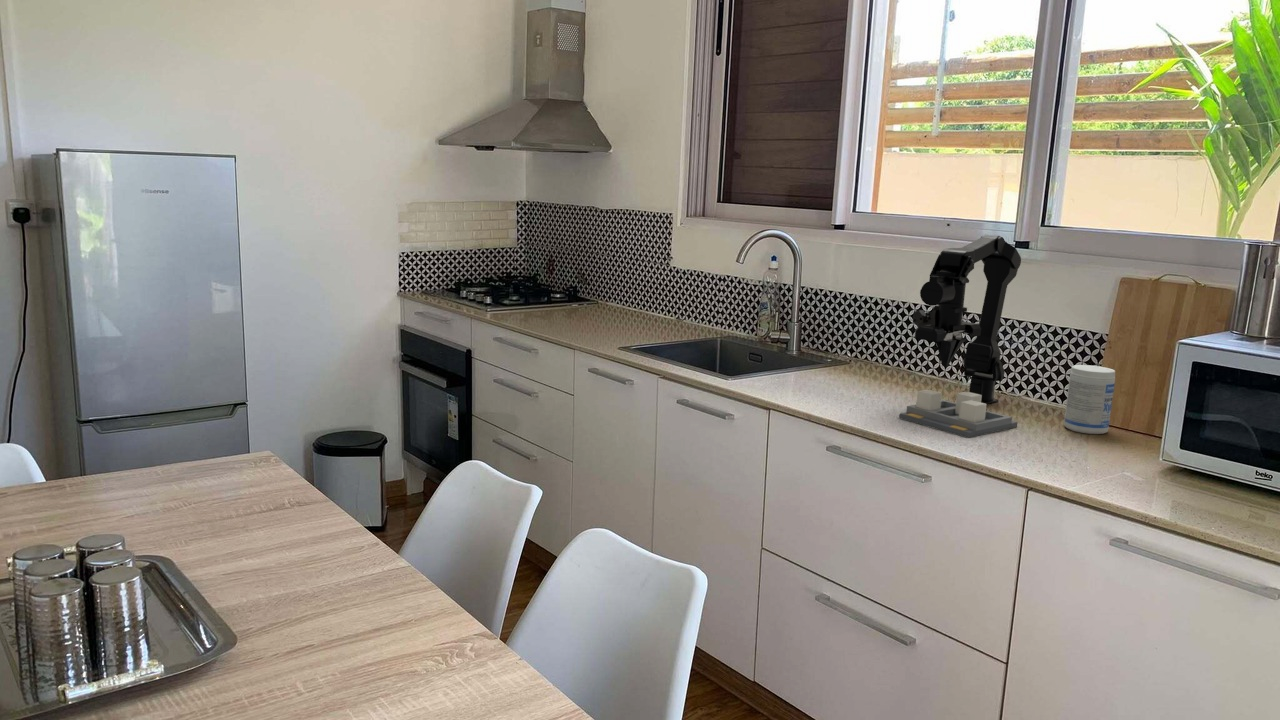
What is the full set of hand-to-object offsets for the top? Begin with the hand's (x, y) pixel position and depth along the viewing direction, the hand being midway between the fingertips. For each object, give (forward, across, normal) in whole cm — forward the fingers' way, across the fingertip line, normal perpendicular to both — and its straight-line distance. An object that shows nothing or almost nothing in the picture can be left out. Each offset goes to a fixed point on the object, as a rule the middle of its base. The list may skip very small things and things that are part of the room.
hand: (944, 366), depth 230 cm
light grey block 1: (+10, +1, +8) cm, 13 cm away
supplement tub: (+12, -18, +27) cm, 35 cm away
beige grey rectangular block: (+10, +7, +2) cm, 13 cm away
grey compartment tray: (+12, +4, +8) cm, 15 cm away
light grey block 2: (+10, +8, +14) cm, 19 cm away
